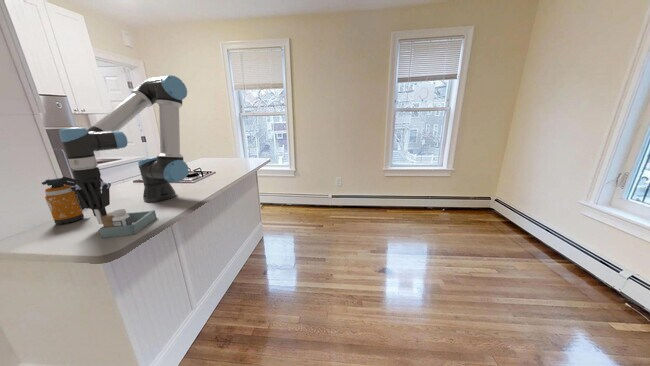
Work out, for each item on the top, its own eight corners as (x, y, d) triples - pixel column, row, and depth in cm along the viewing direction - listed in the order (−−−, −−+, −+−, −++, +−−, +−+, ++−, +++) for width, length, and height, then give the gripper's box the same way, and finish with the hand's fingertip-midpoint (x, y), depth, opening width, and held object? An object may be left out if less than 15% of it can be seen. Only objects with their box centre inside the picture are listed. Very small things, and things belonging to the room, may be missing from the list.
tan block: (113, 222, 100) (109, 212, 99) (125, 221, 101) (122, 211, 99) (104, 228, 95) (100, 217, 94) (117, 226, 96) (114, 215, 95)
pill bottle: (131, 227, 95) (125, 207, 93) (135, 230, 92) (129, 209, 90) (114, 232, 91) (108, 211, 88) (118, 236, 88) (112, 214, 85)
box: (129, 220, 102) (127, 212, 101) (156, 217, 104) (154, 210, 103) (102, 237, 87) (99, 229, 86) (134, 234, 89) (132, 226, 88)
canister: (56, 221, 104) (39, 178, 99) (90, 213, 112) (76, 173, 106) (54, 227, 98) (36, 182, 93) (90, 218, 106) (76, 176, 100)
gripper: (57, 171, 86) (78, 228, 93) (96, 168, 88) (113, 225, 94) (74, 167, 93) (93, 220, 100) (110, 165, 95) (126, 217, 101)
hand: (103, 222), depth 97 cm, fingers closed
